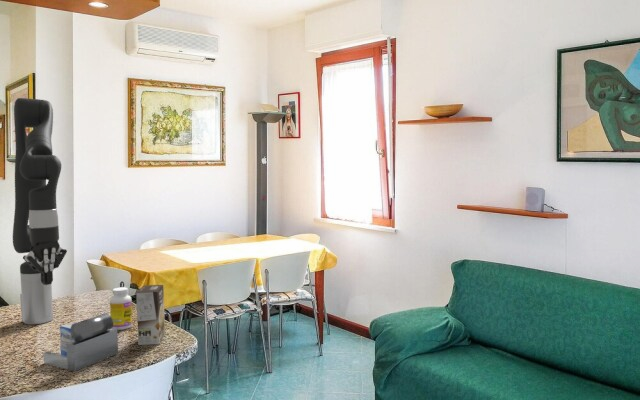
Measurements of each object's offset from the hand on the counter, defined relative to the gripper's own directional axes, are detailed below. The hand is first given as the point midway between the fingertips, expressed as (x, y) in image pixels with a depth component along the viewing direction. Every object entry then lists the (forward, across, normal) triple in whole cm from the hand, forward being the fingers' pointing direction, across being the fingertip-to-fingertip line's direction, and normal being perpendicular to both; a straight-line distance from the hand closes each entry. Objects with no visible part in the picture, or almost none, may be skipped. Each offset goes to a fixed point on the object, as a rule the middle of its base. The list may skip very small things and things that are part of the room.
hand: (47, 284), depth 161 cm
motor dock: (+19, +1, +15) cm, 24 cm away
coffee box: (+20, -19, +21) cm, 35 cm away
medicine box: (+20, 0, +11) cm, 23 cm away
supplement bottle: (+20, -24, +3) cm, 31 cm away
